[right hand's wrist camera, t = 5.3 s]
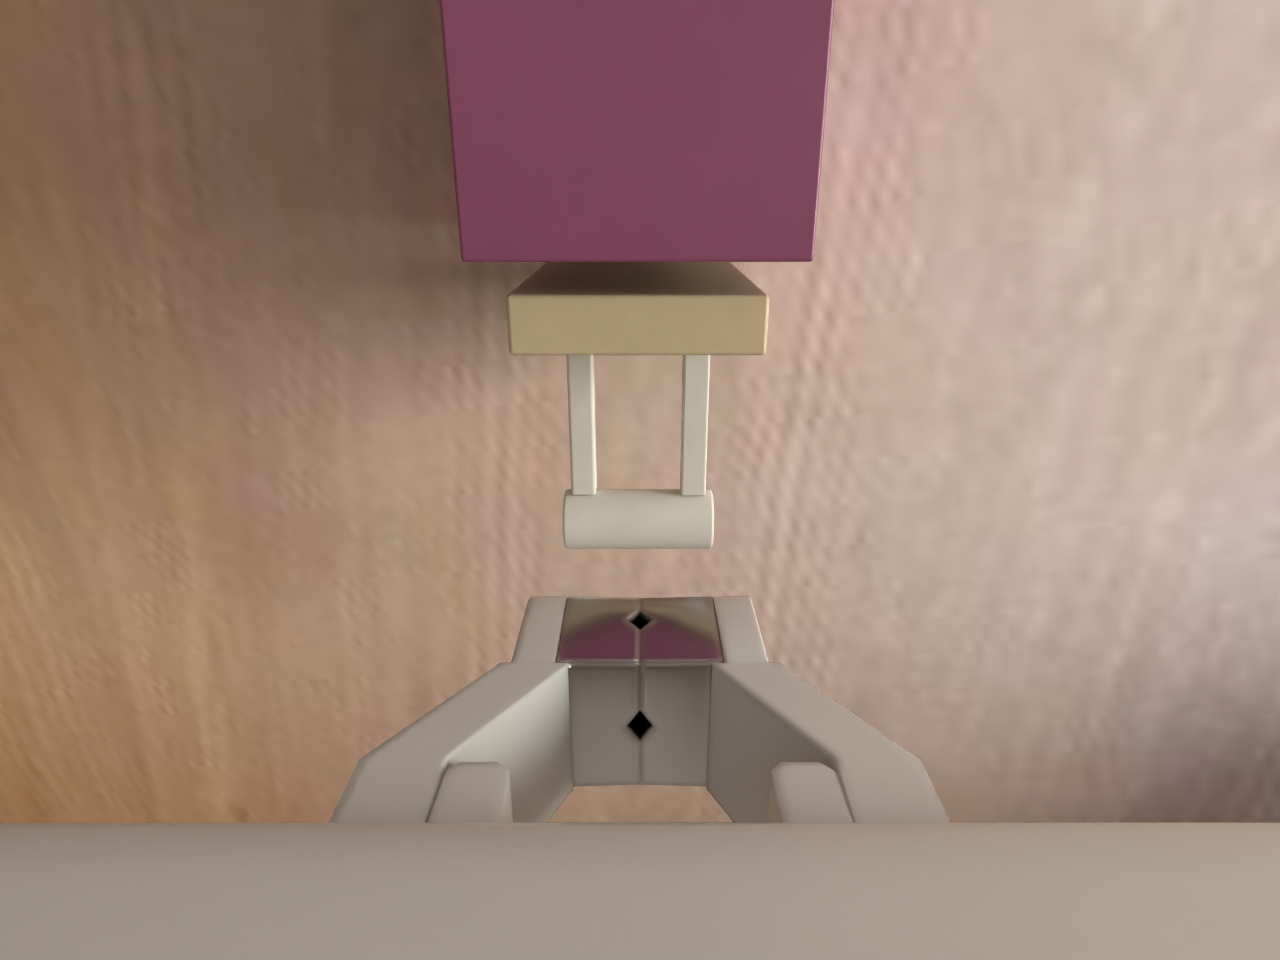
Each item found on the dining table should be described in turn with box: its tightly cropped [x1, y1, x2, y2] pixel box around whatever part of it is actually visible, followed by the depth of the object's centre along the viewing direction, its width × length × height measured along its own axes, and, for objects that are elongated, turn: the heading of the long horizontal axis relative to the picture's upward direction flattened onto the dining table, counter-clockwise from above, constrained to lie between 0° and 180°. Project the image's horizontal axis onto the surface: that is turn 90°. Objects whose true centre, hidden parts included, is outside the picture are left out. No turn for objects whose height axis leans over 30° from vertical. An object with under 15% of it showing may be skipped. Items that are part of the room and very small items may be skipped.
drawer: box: [506, 262, 769, 549], centre depth 17 cm, size 23×5×8 cm, turn 0°
